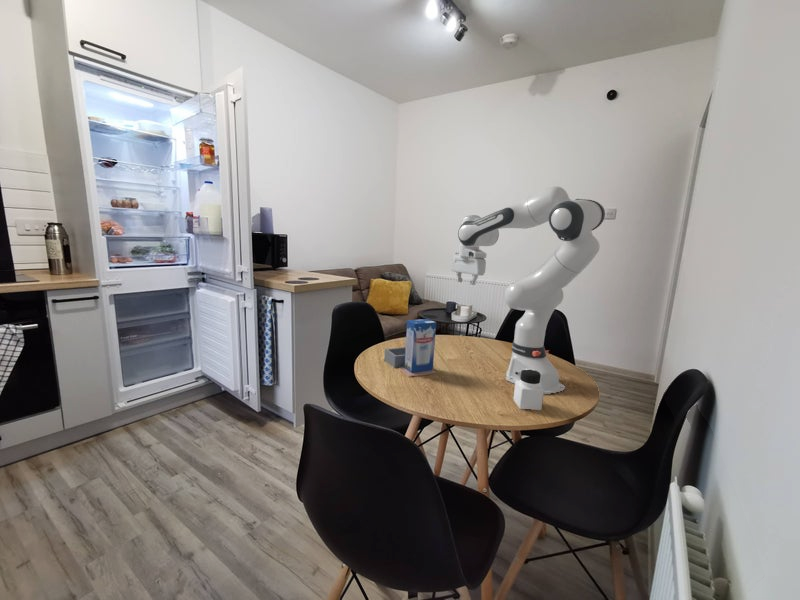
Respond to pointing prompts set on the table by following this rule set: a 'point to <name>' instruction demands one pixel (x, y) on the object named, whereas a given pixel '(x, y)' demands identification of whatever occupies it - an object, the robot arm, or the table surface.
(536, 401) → the medicine bottle
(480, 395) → the table surface
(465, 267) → the robot arm
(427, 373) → the terracotta tile
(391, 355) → the carton holder
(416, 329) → the milk carton
